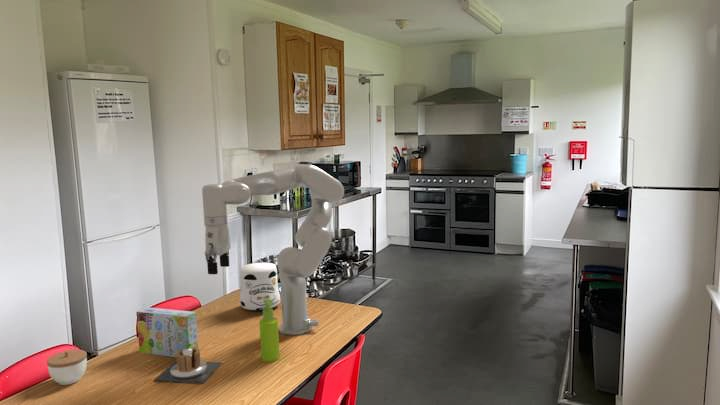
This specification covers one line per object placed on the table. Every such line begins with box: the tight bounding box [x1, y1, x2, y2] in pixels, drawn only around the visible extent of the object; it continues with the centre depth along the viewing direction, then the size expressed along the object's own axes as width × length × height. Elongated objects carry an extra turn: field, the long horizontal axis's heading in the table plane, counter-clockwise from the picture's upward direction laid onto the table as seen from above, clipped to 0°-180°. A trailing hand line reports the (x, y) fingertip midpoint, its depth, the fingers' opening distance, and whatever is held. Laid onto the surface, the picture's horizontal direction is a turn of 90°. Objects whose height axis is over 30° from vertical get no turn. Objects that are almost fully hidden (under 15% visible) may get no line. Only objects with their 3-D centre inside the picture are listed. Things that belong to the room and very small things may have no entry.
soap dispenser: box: [259, 299, 280, 363], centre depth 172 cm, size 6×7×20 cm
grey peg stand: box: [153, 347, 223, 385], centre depth 164 cm, size 16×14×8 cm
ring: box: [175, 347, 201, 372], centre depth 164 cm, size 7×7×5 cm
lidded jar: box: [46, 349, 88, 386], centre depth 161 cm, size 11×11×9 cm
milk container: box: [238, 262, 281, 312], centre depth 223 cm, size 17×17×18 cm
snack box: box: [136, 306, 199, 358], centre depth 179 cm, size 21×6×15 cm, turn 71°
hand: (219, 270), depth 178 cm, fingers open, 9 cm apart
